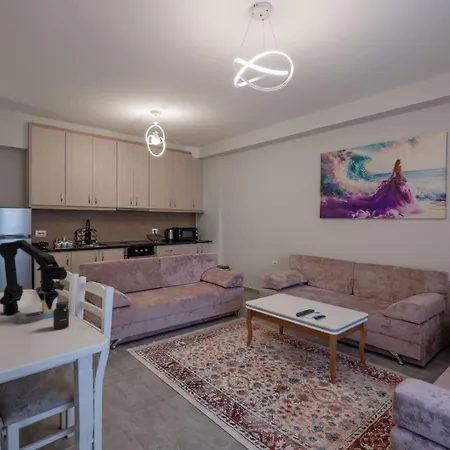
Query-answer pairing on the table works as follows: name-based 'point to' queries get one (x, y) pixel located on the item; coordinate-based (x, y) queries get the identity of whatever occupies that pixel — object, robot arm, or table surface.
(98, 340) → the table surface
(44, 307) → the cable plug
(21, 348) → the table surface
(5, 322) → the table surface
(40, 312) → the duct block
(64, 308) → the supplement bottle
